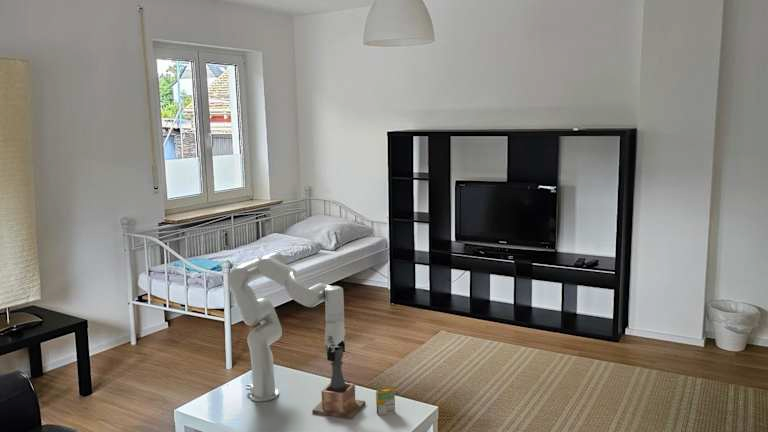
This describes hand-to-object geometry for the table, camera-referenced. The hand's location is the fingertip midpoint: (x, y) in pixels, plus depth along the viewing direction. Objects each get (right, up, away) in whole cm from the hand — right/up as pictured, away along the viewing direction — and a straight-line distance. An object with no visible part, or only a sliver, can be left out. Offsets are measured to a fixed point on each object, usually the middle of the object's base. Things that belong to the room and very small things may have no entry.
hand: (336, 356), depth 261 cm
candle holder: (+1, -22, +4) cm, 22 cm away
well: (+1, -23, +4) cm, 23 cm away
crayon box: (+21, -23, -1) cm, 31 cm away
